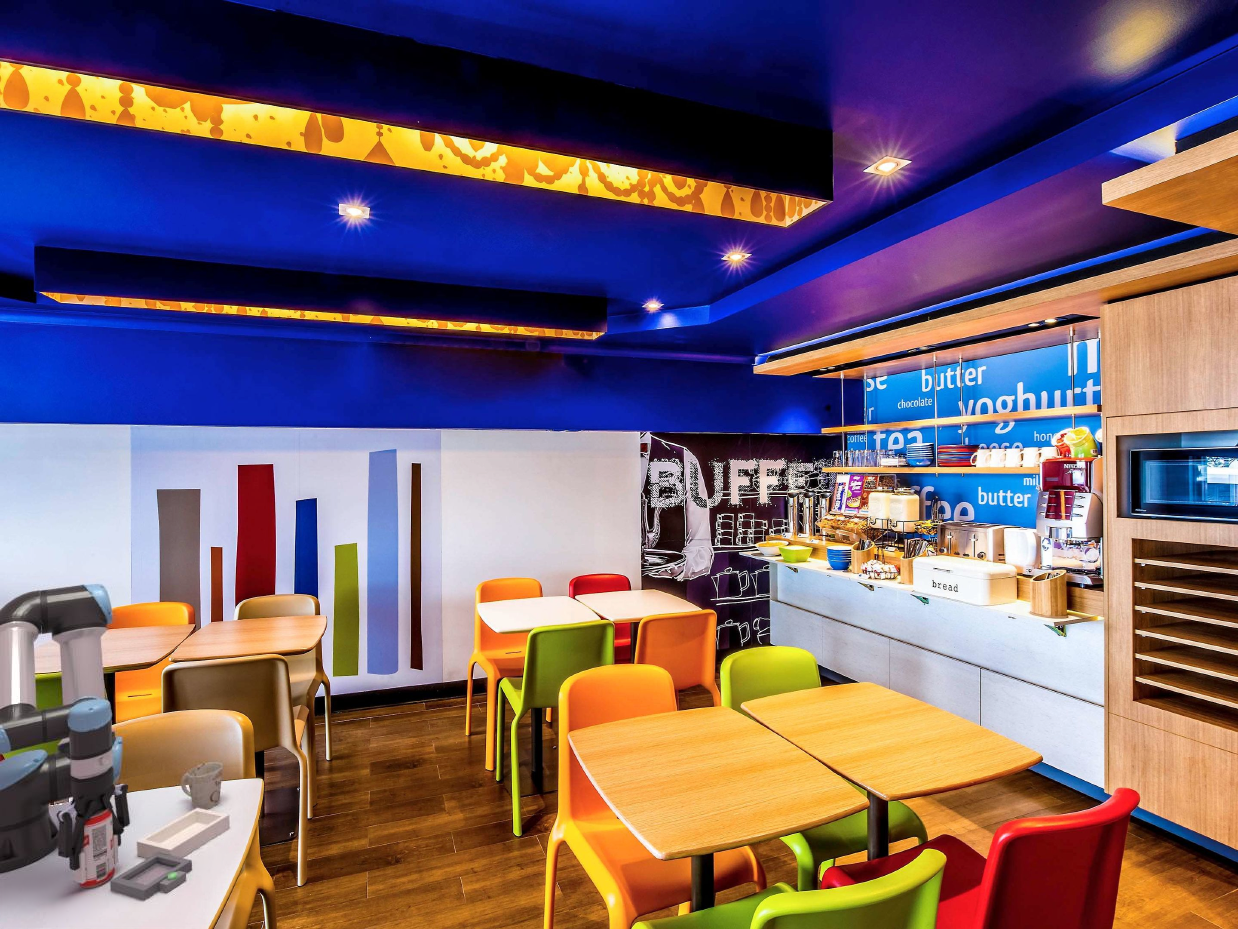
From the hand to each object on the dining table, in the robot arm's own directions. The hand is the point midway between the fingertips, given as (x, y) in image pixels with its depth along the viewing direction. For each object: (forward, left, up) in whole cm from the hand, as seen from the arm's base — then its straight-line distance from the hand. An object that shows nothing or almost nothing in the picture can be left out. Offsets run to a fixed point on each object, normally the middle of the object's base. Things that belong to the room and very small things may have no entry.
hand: (96, 871), depth 147 cm
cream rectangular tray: (+5, +17, -2) cm, 18 cm away
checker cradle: (+13, +4, -2) cm, 14 cm away
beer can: (0, 0, -2) cm, 2 cm away
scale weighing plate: (+12, +4, -3) cm, 13 cm away
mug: (-8, +31, -2) cm, 32 cm away
